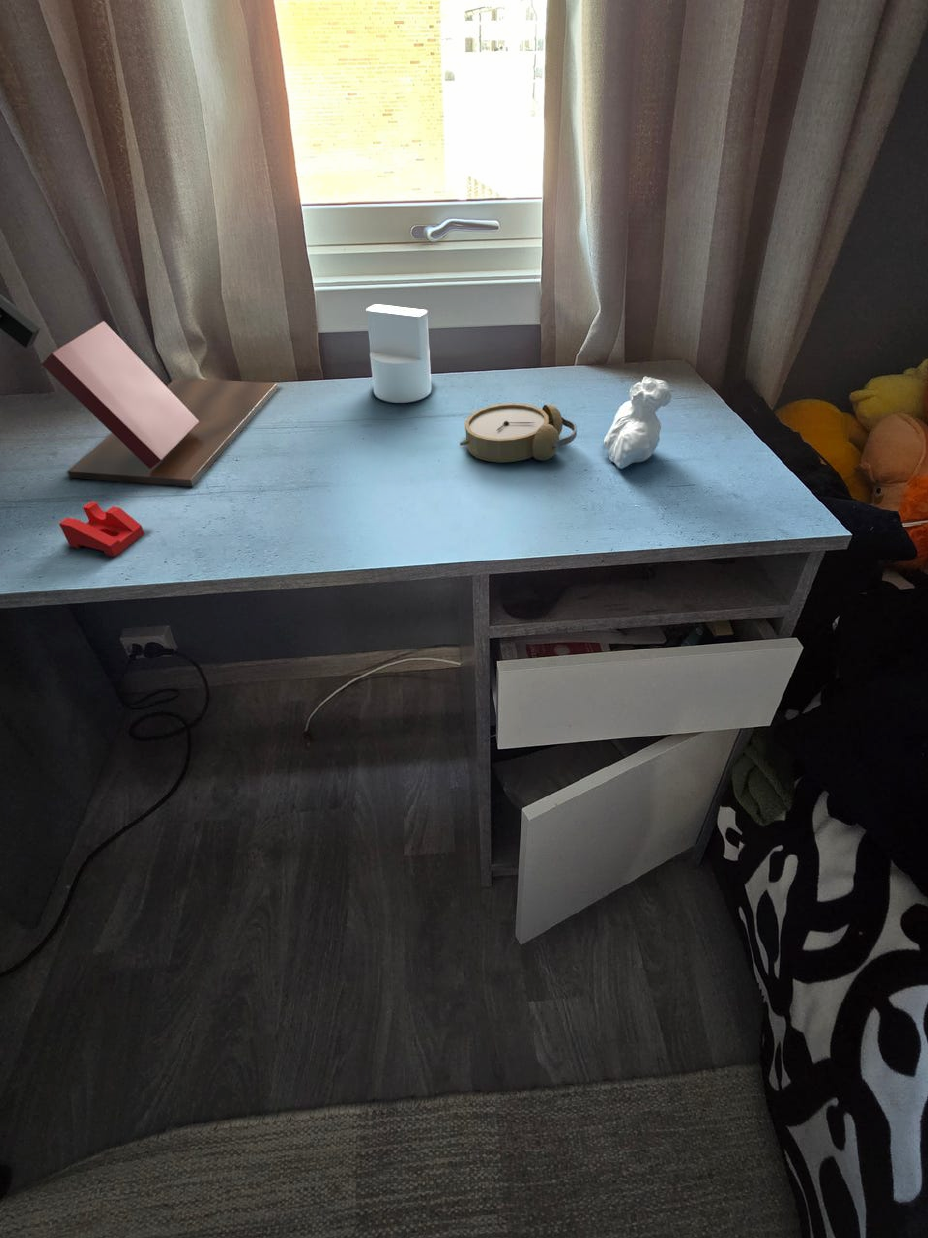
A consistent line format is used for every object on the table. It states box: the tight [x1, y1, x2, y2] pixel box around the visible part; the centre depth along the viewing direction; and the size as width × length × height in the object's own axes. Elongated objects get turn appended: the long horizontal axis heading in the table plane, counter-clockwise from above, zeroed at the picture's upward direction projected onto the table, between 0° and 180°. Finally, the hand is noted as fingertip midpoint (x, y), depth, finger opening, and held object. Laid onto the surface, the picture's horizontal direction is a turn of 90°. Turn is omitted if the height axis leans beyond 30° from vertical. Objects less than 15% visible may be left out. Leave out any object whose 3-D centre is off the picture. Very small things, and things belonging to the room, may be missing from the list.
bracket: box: [58, 500, 145, 558], centre depth 77 cm, size 6×5×3 cm
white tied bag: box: [603, 376, 672, 470], centre depth 88 cm, size 12×8×11 cm
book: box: [41, 320, 199, 469], centre depth 88 cm, size 2×11×16 cm
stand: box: [67, 377, 278, 488], centre depth 99 cm, size 17×30×1 cm, turn 171°
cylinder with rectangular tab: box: [365, 303, 432, 404], centre depth 104 cm, size 9×9×12 cm
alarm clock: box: [459, 402, 578, 463], centre depth 92 cm, size 11×5×15 cm
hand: (32, 338), depth 84 cm, fingers closed
